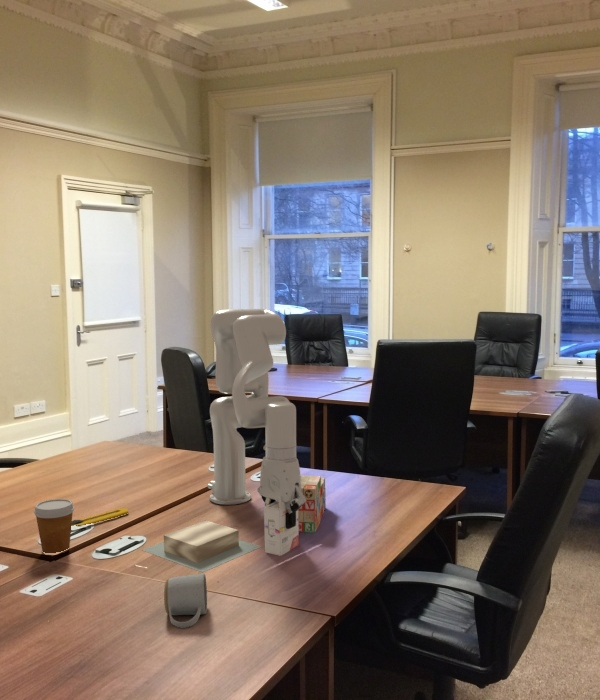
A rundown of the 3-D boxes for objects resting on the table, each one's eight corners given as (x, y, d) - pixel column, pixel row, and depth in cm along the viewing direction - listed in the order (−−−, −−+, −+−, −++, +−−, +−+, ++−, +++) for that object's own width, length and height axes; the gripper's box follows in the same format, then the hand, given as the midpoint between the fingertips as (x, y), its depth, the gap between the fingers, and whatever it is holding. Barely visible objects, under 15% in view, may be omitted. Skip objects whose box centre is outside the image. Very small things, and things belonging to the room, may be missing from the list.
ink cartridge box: (282, 541, 180) (282, 485, 179) (299, 545, 177) (299, 488, 176) (263, 553, 173) (262, 494, 171) (280, 557, 170) (279, 497, 169)
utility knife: (47, 530, 192) (47, 523, 191) (119, 510, 208) (119, 503, 208) (60, 536, 187) (60, 529, 187) (132, 515, 204) (132, 508, 203)
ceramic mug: (167, 605, 146) (166, 569, 145) (207, 603, 146) (206, 567, 145) (162, 631, 135) (161, 592, 134) (205, 628, 136) (204, 590, 135)
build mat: (141, 551, 175) (141, 549, 175) (201, 529, 190) (201, 527, 190) (202, 574, 161) (202, 572, 161) (261, 548, 176) (261, 546, 176)
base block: (164, 551, 174) (163, 535, 174) (205, 535, 185) (205, 520, 184) (197, 562, 166) (196, 546, 166) (238, 545, 177) (238, 530, 177)
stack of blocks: (304, 507, 209) (304, 466, 208) (325, 508, 208) (325, 467, 207) (292, 532, 188) (291, 487, 187) (315, 533, 187) (315, 488, 186)
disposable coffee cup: (38, 561, 169) (36, 512, 168) (33, 548, 178) (31, 501, 177) (79, 554, 174) (77, 506, 172) (72, 541, 182) (70, 496, 181)
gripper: (244, 450, 175) (245, 521, 177) (298, 461, 164) (298, 537, 166) (265, 444, 181) (265, 513, 183) (318, 455, 170) (318, 528, 172)
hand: (281, 523), depth 174 cm, fingers closed on ink cartridge box, 5 cm apart
